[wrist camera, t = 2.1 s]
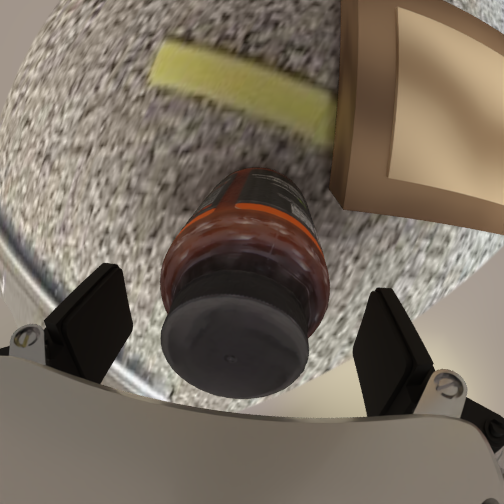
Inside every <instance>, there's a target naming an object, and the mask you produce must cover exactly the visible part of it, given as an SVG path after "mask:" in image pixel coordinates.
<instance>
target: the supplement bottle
mask: <svg viewBox="0 0 504 504" xmlns="http://www.w3.org/2000/svg"><path fill="white" fill-rule="evenodd" d="M160 285H161V286H160V290H161V296H162V301H163V304H164V307H165V310H166V312H167V314H168V315H167V317H166V319H165V322H164V324H163V327H162V330H161V346H162V351H163V353H164V356H165V358H166V360H167V362H168V363H169V364H170V366H171V368H172V369H173V370H174V371H175V372H176V373H177V374H178V375H179V376H180V377H181V378H183V379H184V380H185V381H186V382H188V383H189V384H191V385H193V386H195V387H196V388H198V389H200V390H202V391H205V392H208V393H210V394H213V395H216V396H221V397H226V398H235V399H251V398H259V397H265V396H268V395H271V394H274V393H277V392H279V391H281V390H283V389H285V388H287V387H288V386H289V385H291V384H292V383H293V382H294V381H295V380H296V379H297V378H298V377H299V376H300V374H301V373H303V371H304V369H305V365H306V364H307V361H308V356H309V344H308V338H309V337H310V336H311V335H312V334H313V333H314V332H315V330H316V329H317V327H318V326H319V325H320V323H321V321H322V319H323V317H324V314H325V312H326V310H327V307H328V302H329V295H330V282H329V275H328V270H327V266H326V262H325V259H324V255H323V251H322V248H321V245H320V242H319V239H318V236H317V233H316V230H315V227H314V224H313V221H312V218H311V215H310V212H309V209H308V206H307V203H306V201H305V199H304V197H303V195H302V193H301V192H300V190H299V189H298V188H297V186H296V185H295V184H294V183H293V182H292V181H291V180H290V179H289V178H287V177H286V176H284V175H282V174H281V173H279V172H276V171H274V170H271V169H266V168H248V169H243V170H240V171H236V172H234V173H232V174H231V175H229V176H228V177H226V178H225V179H224V180H222V181H221V182H220V183H219V184H218V185H217V186H216V187H215V188H214V190H213V191H212V192H211V193H210V195H209V196H208V197H207V198H206V199H205V201H204V202H203V203H202V204H201V206H200V207H199V208H198V209H197V211H196V212H195V213H194V214H193V216H192V217H191V218H190V219H189V221H188V222H187V224H186V225H185V226H184V227H183V228H182V230H181V231H180V233H179V234H178V235H177V237H176V239H175V240H174V241H173V243H172V244H171V246H170V248H169V250H168V252H167V254H166V256H165V259H164V261H163V265H162V269H161V277H160Z"/></svg>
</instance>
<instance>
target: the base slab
mask: <svg viewBox="0 0 504 504" xmlns="http://www.w3.org/2000/svg"><path fill="white" fill-rule="evenodd" d="M329 190H330V191H331V192H332V194H333V195H334V197H335V198H336V200H337V201H338V203H339V204H340V206H341V207H342V208H343V210H351V211H359V212H367V213H375V214H383V215H390V216H397V217H404V218H411V219H417V220H424V221H430V222H436V223H442V224H448V225H454V226H460V227H465V228H471V229H476V230H481V231H486V232H491V233H496V234H501V235H504V34H502V33H501V32H499V31H498V30H496V29H494V28H493V27H491V26H490V25H488V24H486V23H485V22H483V21H481V20H480V19H478V18H476V17H474V16H473V15H471V14H469V13H467V12H465V11H463V10H461V9H459V8H457V7H455V6H453V5H451V4H449V3H447V2H445V1H443V0H341V37H340V68H339V87H338V102H337V115H336V127H335V138H334V148H333V158H332V167H331V175H330V183H329Z"/></svg>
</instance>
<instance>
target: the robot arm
mask: <svg viewBox="0 0 504 504" xmlns="http://www.w3.org/2000/svg"><path fill="white" fill-rule="evenodd" d="M44 322H45V325H46V328H45V329H44V330H43V328H42V327H41V326H39V325H37V324H27V325H24V326H22V327H20V328H19V329H17V330H16V331H15V332H14V333H13V335H12V336H11V340H10V346H8V347H4V348H1V349H0V504H504V418H503V417H501V416H500V415H498V414H496V413H495V412H492V411H491V410H489V409H487V408H485V407H483V406H482V405H480V404H478V403H476V402H474V401H472V400H471V399H469V398H467V397H466V395H467V386H466V383H465V381H464V380H463V378H462V377H461V376H460V375H459V374H457V373H455V372H453V371H451V370H448V369H440V370H437V371H435V369H434V367H433V361H432V359H431V357H430V355H429V354H428V351H427V350H426V348H425V346H424V344H423V342H422V340H421V338H420V336H419V335H418V333H417V331H416V329H415V327H414V325H413V324H412V322H411V320H410V318H409V316H408V315H407V313H406V311H405V309H404V308H403V306H402V304H401V303H400V301H399V299H398V298H397V296H396V294H395V293H394V291H393V289H391V288H376V290H375V291H372V292H371V293H370V296H369V299H368V303H367V306H366V309H365V313H364V316H363V319H362V322H361V325H360V328H359V331H358V334H357V337H356V340H355V343H354V346H353V358H354V361H355V365H356V369H357V373H358V378H359V382H360V386H361V390H362V394H363V399H364V403H365V408H366V412H367V417H353V418H294V417H275V416H261V415H250V414H240V413H232V412H224V411H217V410H210V409H204V408H197V407H192V406H186V405H181V404H176V403H171V402H166V401H161V400H157V399H153V398H148V397H144V396H140V395H136V394H132V393H129V392H125V391H121V390H118V389H114V388H111V387H108V386H104V385H101V384H100V383H101V382H102V380H103V378H104V377H105V375H106V373H107V372H108V370H109V368H110V367H111V365H112V363H113V362H114V360H115V358H116V357H117V355H118V353H119V352H120V350H121V348H122V347H123V345H124V344H125V342H126V340H127V339H128V337H129V336H130V334H131V332H132V330H133V322H132V318H131V313H130V308H129V303H128V298H127V293H126V288H125V282H124V276H123V271H122V269H121V268H119V266H118V265H117V264H110V263H103V264H101V265H100V266H99V267H98V268H97V269H96V270H95V271H94V272H93V273H92V274H91V275H90V276H88V277H87V278H86V279H85V280H84V281H83V282H82V283H81V284H80V285H79V286H78V287H77V288H76V289H75V290H74V291H73V292H72V293H71V294H70V295H69V296H68V297H67V298H66V299H65V300H64V301H63V302H62V303H61V304H60V305H59V306H58V307H57V308H56V309H55V310H54V311H53V312H52V313H51V314H50V315H49V316H48V317H47V318H46V319H45V320H44Z"/></svg>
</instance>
